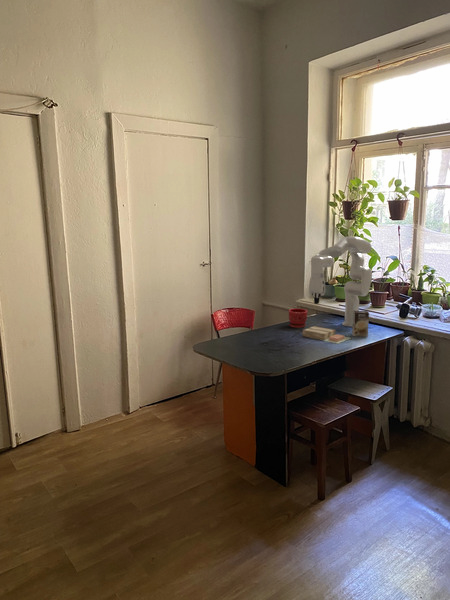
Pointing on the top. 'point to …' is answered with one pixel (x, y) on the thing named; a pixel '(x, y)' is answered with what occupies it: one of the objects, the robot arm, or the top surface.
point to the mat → (338, 341)
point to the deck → (318, 333)
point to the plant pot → (297, 318)
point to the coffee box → (360, 323)
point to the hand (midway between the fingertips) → (316, 303)
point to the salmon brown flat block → (336, 338)
